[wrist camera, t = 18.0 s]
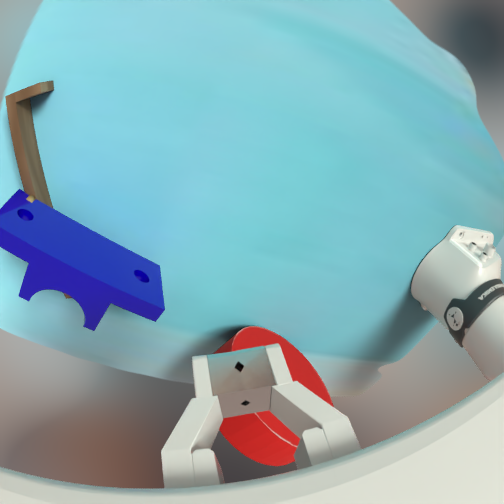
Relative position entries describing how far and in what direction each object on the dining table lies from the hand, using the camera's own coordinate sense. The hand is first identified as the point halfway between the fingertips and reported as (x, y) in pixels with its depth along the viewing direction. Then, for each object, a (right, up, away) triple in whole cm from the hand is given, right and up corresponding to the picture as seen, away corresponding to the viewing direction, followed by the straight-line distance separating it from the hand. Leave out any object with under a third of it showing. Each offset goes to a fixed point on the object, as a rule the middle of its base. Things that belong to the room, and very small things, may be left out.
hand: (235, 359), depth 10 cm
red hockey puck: (+2, -10, +36) cm, 38 cm away
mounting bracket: (-15, +4, +15) cm, 21 cm away
